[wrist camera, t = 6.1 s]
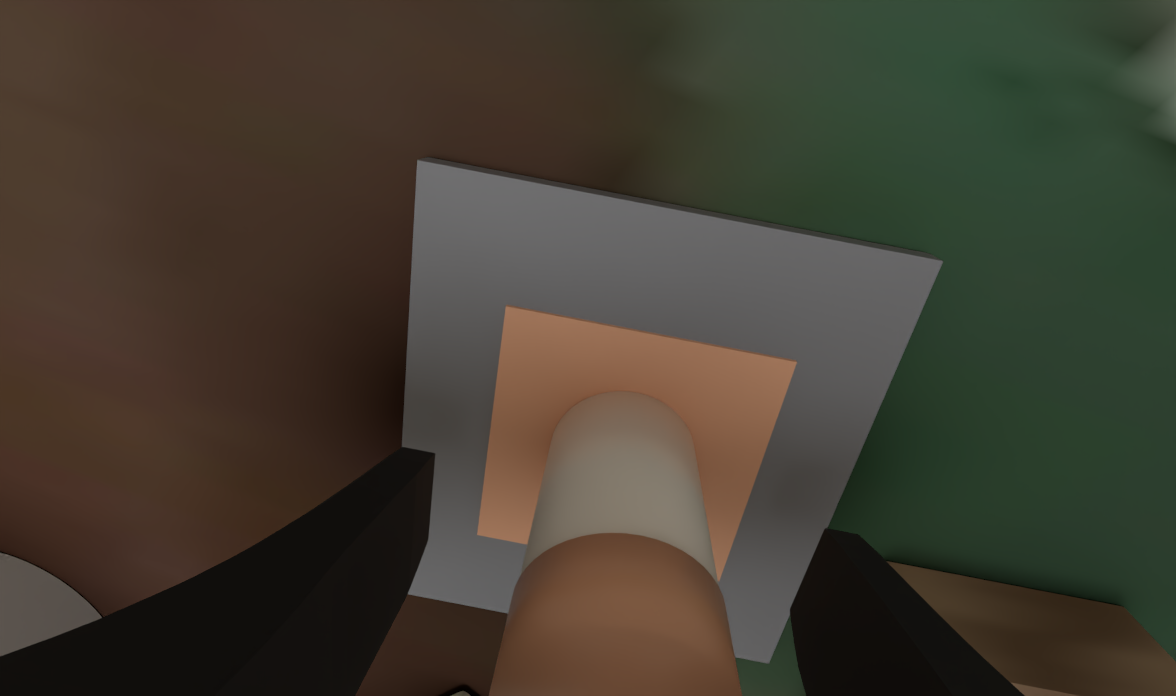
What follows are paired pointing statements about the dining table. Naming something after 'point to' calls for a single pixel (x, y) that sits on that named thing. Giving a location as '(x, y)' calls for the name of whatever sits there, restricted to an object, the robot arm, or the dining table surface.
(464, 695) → the skincare box
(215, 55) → the dining table surface
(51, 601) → the coffee cup
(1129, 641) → the button housing
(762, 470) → the grey square plate
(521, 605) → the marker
